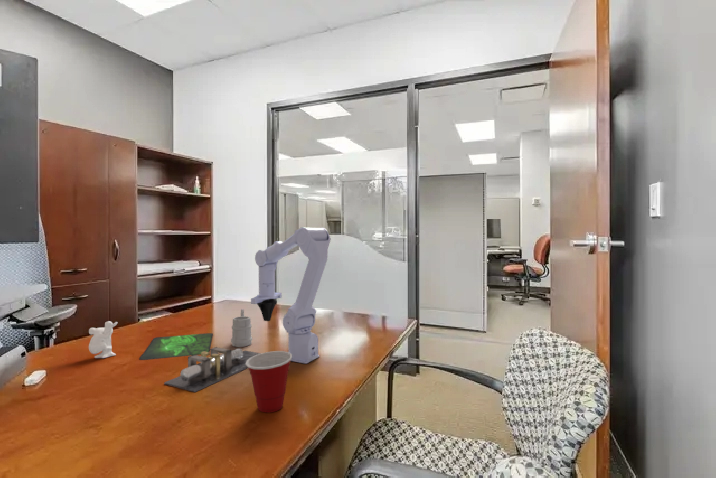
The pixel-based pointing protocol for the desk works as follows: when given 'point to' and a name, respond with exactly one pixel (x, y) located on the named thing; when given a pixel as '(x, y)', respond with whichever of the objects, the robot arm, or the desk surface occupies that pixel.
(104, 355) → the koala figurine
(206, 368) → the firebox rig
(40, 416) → the desk surface
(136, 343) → the desk surface
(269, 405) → the plastic cup
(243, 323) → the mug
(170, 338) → the mouse mat
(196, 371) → the tube
